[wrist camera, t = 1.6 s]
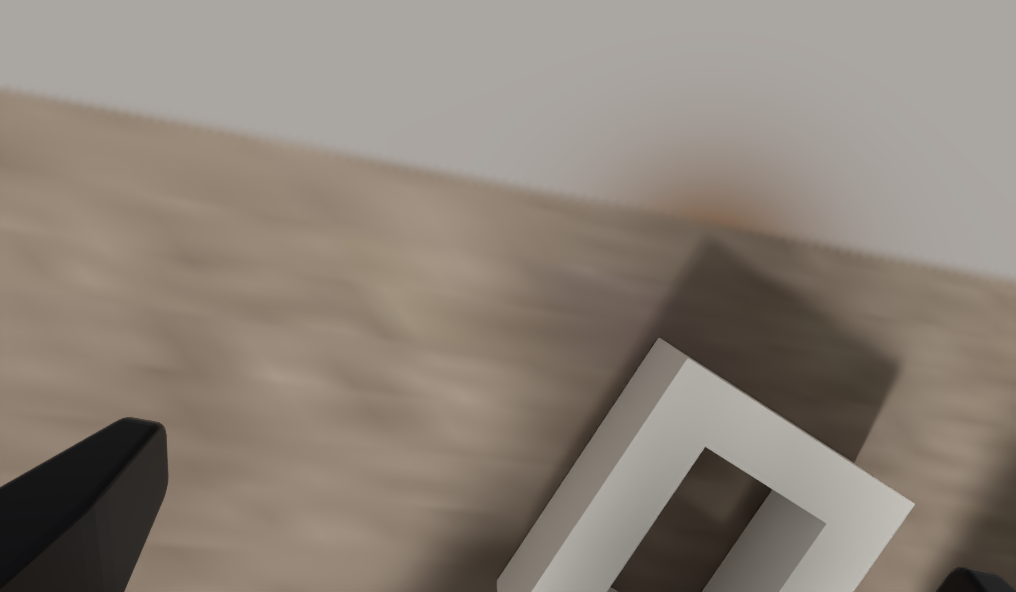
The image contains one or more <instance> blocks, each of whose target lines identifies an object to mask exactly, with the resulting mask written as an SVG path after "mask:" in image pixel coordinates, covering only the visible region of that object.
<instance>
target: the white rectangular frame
mask: <svg viewBox="0 0 1016 592" xmlns="http://www.w3.org/2000/svg"><path fill="white" fill-rule="evenodd" d="M705 447H707V448H708V449H710V450H711V451H713V452H714V453H716V454H718V455H719V456H721V457H722V458H724V459H725V460H727V461H729V462H730V463H732V464H733V465H735V466H736V467H738V468H740V469H741V470H743V471H744V472H746V473H747V474H749V475H751V476H752V477H754V478H755V479H757V480H759V481H760V482H762V483H763V484H765V485H766V486H768V487H770V488H771V489H772V491H771V492H770V494H769V495H768V496H767V498H766V499H765V501H764V502H763V504H762V505H761V507H760V508H759V509H758V511H757V512H756V514H755V515H754V517H753V518H752V520H751V521H750V523H749V524H748V525H747V527H746V528H745V530H744V531H743V533H742V534H741V536H740V537H739V539H738V540H737V541H736V543H735V544H734V546H733V547H732V549H731V550H730V552H729V553H728V554H727V556H726V557H725V559H724V560H723V562H722V563H721V565H720V566H719V568H718V569H717V570H716V572H715V573H714V575H713V576H712V578H711V579H710V581H709V582H708V584H707V585H706V586H705V588H704V589H703V591H702V592H853V591H854V590H855V589H856V587H857V586H858V584H859V583H860V582H861V580H862V579H863V577H864V576H865V574H866V573H867V572H868V570H869V569H870V567H871V566H872V565H873V563H874V562H875V560H876V559H877V557H878V556H879V555H880V553H881V552H882V550H883V549H884V548H885V546H886V545H887V543H888V542H889V541H890V539H891V538H892V536H893V535H894V533H895V532H896V531H897V529H898V528H899V526H900V525H901V524H902V522H903V521H904V519H905V518H906V516H907V515H908V514H909V512H910V511H911V509H912V508H913V507H914V505H915V504H914V503H913V502H911V501H910V500H908V499H907V498H905V497H904V496H902V495H901V494H899V493H898V492H896V491H895V490H893V489H892V488H891V487H889V486H888V485H886V484H885V483H883V482H882V481H880V480H879V479H877V478H876V477H874V476H873V475H871V474H870V473H868V472H867V471H865V470H864V469H862V468H861V467H859V466H858V465H856V464H855V463H853V462H852V461H850V460H849V459H847V458H846V457H844V456H842V455H841V454H839V453H838V452H836V451H835V450H833V449H832V448H830V447H828V446H827V445H825V444H824V443H822V442H821V441H819V440H818V439H816V438H815V437H813V436H811V435H810V434H808V433H807V432H805V431H804V430H802V429H801V428H799V427H797V426H796V425H794V424H793V423H791V422H790V421H788V420H787V419H785V418H783V417H782V416H780V415H779V414H777V413H776V412H774V411H773V410H771V409H770V408H768V407H766V406H765V405H763V404H762V403H760V402H759V401H757V400H756V399H754V398H752V397H751V396H749V395H748V394H746V393H745V392H743V391H742V390H740V389H738V388H737V387H735V386H734V385H732V384H731V383H729V382H728V381H726V380H724V379H723V378H721V377H720V376H718V375H717V374H715V373H714V372H712V371H711V370H709V369H707V368H706V367H704V366H703V365H701V364H700V363H698V362H697V361H695V360H693V359H692V358H690V357H689V356H687V355H686V354H684V353H683V352H681V351H679V350H678V349H676V348H675V347H673V346H672V345H670V344H669V343H667V342H666V341H664V340H662V339H661V338H658V339H657V341H656V342H655V344H654V345H653V347H652V348H651V350H650V351H649V353H648V354H647V356H646V357H645V359H644V360H643V362H642V363H641V365H640V366H639V368H638V369H637V371H636V372H635V374H634V375H633V377H632V378H631V380H630V381H629V383H628V384H627V386H626V387H625V389H624V390H623V392H622V393H621V395H620V396H619V398H618V399H617V401H616V402H615V404H614V405H613V407H612V408H611V410H610V411H609V413H608V414H607V416H606V417H605V419H604V420H603V422H602V423H601V425H600V426H599V428H598V429H597V431H596V432H595V434H594V435H593V437H592V438H591V440H590V441H589V443H588V444H587V446H586V447H585V449H584V450H583V452H582V453H581V455H580V456H579V458H578V459H577V461H576V462H575V464H574V465H573V467H572V468H571V470H570V471H569V473H568V474H567V476H566V477H565V479H564V480H563V482H562V483H561V485H560V486H559V488H558V489H557V491H556V492H555V494H554V495H553V497H552V499H551V500H550V502H549V503H548V505H547V506H546V508H545V509H544V511H543V512H542V514H541V515H540V517H539V518H538V520H537V521H536V523H535V524H534V526H533V527H532V529H531V530H530V532H529V533H528V535H527V536H526V538H525V539H524V541H523V542H522V544H521V545H520V547H519V548H518V550H517V551H516V553H515V554H514V556H513V557H512V559H511V560H510V562H509V563H508V565H507V566H506V568H505V569H504V571H503V572H502V574H501V575H500V577H499V578H498V580H497V592H618V591H616V590H615V589H613V588H611V587H610V586H611V585H612V583H613V582H614V580H615V579H616V578H617V576H618V575H619V573H620V572H621V570H622V569H623V567H624V566H625V564H626V563H627V561H628V560H629V558H630V557H631V555H632V554H633V552H634V551H635V550H636V548H637V547H638V545H639V544H640V542H641V541H642V539H643V538H644V536H645V535H646V533H647V532H648V530H649V529H650V527H651V526H652V524H653V523H654V522H655V520H656V519H657V517H658V516H659V514H660V513H661V511H662V510H663V508H664V507H665V505H666V504H667V502H668V501H669V499H670V498H671V496H672V495H673V494H674V492H675V491H676V489H677V488H678V486H679V485H680V483H681V482H682V480H683V479H684V477H685V476H686V474H687V473H688V471H689V470H690V468H691V467H692V466H693V464H694V463H695V461H696V460H697V458H698V457H699V455H700V454H701V452H702V451H703V449H704V448H705Z"/></svg>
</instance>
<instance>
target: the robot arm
mask: <svg viewBox="0 0 1016 592" xmlns="http://www.w3.org/2000/svg"><path fill="white" fill-rule="evenodd" d="M167 485H168V457H167V435H166V430H165V427H164V426H163V425H162V424H161V423H159V422H155V421H150V420H144V419H139V418H133V417H126V418H122V419H120V420H118V421H116V422H114V423H112V424H110V425H109V426H107V427H105V428H103V429H102V430H100V431H98V432H96V433H95V434H93V435H91V436H89V437H88V438H86V439H84V440H82V441H80V442H79V443H77V444H75V445H73V446H72V447H70V448H68V449H66V450H65V451H63V452H61V453H59V454H58V455H56V456H54V457H52V458H51V459H49V460H47V461H45V462H43V463H42V464H40V465H38V466H36V467H35V468H33V469H31V470H29V471H28V472H26V473H24V474H22V475H21V476H19V477H17V478H15V479H14V480H12V481H10V482H8V483H7V484H5V485H3V486H1V487H0V592H124V591H125V589H126V586H127V584H128V582H129V579H130V577H131V575H132V572H133V570H134V568H135V565H136V563H137V560H138V558H139V556H140V553H141V551H142V549H143V546H144V544H145V542H146V539H147V537H148V535H149V532H150V530H151V528H152V525H153V523H154V521H155V518H156V516H157V514H158V511H159V509H160V506H161V504H162V502H163V499H164V497H165V493H166V490H167ZM935 592H1016V590H1015V589H1014V588H1012V587H1011V586H1010V585H1009V584H1008V583H1007V582H1005V581H1004V580H1003V579H1002V578H1001V577H999V576H998V575H996V574H994V573H992V572H989V571H984V570H978V569H973V568H967V567H957V568H955V569H953V570H951V571H950V572H949V573H948V575H947V576H946V577H945V579H944V580H943V582H942V583H941V584H940V586H939V587H938V589H937V590H936V591H935Z"/></svg>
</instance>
